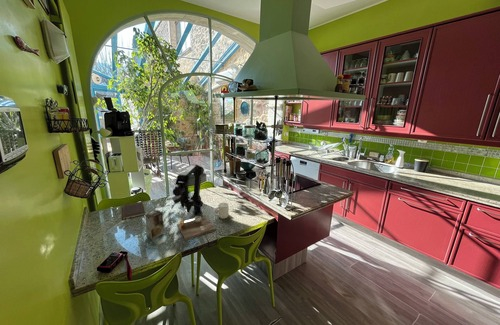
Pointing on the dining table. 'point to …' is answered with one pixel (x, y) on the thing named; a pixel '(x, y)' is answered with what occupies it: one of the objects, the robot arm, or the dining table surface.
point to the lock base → (196, 228)
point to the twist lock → (191, 221)
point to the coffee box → (154, 224)
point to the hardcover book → (132, 210)
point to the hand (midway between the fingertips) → (185, 210)
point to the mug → (222, 210)
